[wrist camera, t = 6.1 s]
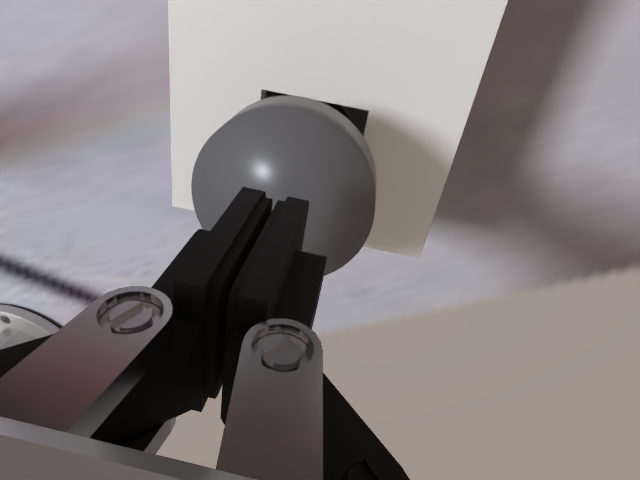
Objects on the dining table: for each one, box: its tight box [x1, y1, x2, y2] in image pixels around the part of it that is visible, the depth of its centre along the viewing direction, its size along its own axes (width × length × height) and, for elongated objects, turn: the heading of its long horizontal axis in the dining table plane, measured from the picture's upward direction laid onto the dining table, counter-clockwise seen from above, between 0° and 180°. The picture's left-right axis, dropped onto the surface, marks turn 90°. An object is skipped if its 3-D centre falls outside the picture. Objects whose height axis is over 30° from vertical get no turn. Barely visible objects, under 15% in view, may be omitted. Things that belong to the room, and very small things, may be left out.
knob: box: [191, 96, 377, 276], centre depth 17 cm, size 6×6×8 cm
